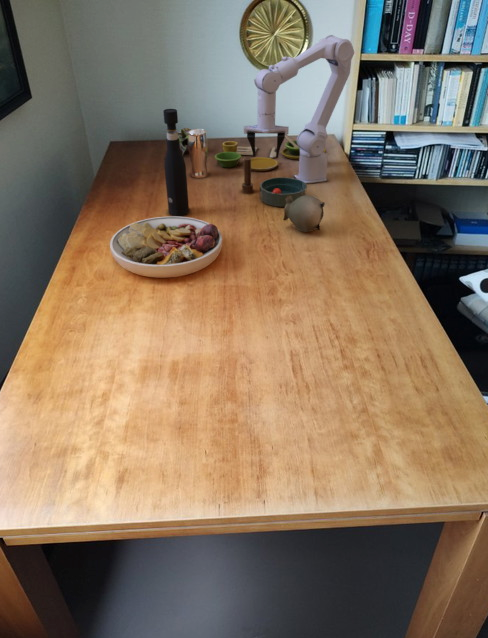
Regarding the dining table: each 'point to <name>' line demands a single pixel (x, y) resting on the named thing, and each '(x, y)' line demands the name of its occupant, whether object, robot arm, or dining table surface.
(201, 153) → the metal tumbler
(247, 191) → the muddler
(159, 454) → the dining table surface
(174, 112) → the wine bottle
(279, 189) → the tomato
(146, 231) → the bowl
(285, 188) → the bowl
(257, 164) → the tableware set
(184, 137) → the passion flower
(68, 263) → the dining table surface
